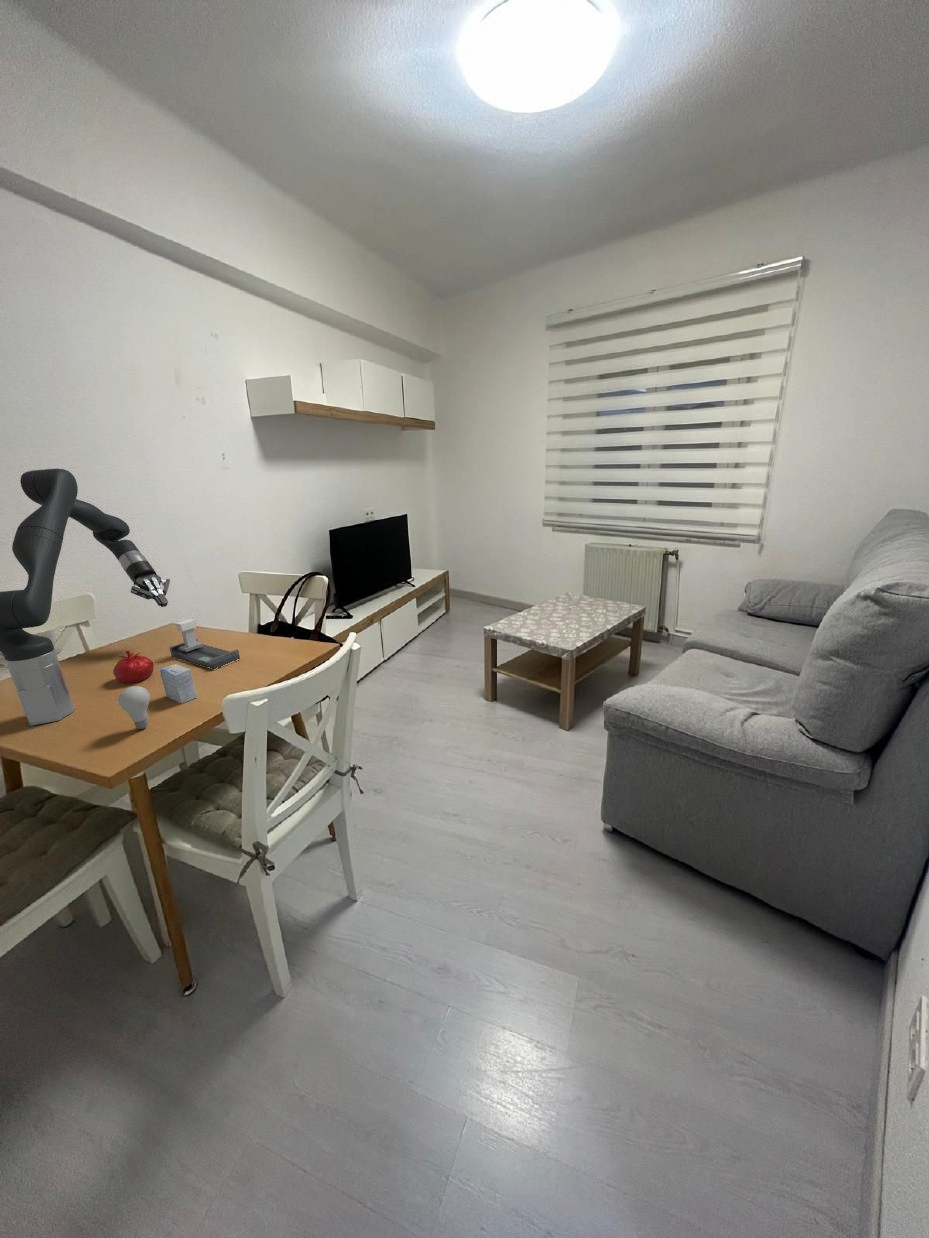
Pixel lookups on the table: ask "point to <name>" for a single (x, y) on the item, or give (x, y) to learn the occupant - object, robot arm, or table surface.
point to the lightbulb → (135, 704)
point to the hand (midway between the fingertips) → (165, 605)
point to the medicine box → (178, 683)
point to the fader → (188, 635)
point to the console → (205, 655)
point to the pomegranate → (133, 668)
